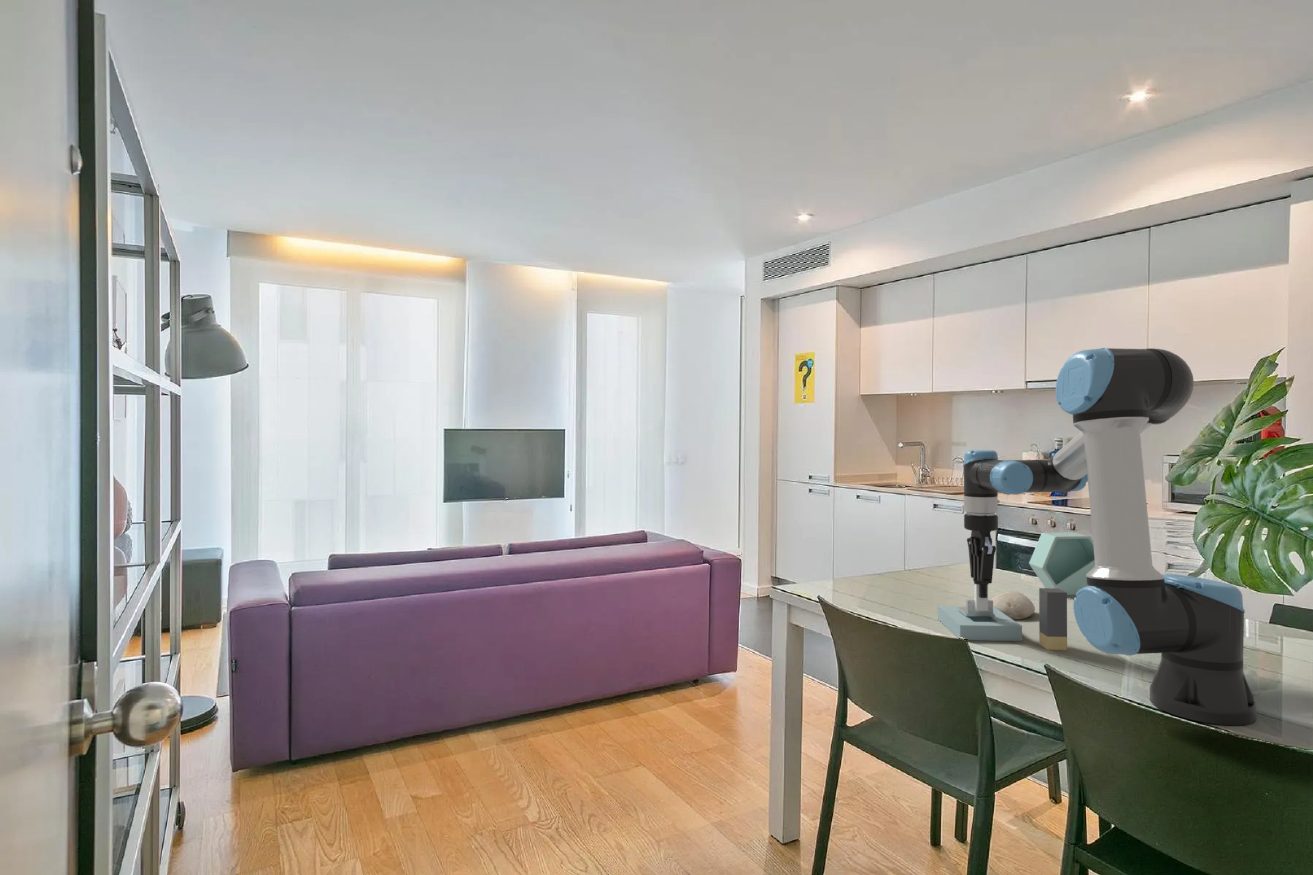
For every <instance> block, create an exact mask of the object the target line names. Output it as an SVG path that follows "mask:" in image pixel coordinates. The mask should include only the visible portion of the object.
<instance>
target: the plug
mask: <svg viewBox="0 0 1313 875" xmlns="http://www.w3.org/2000/svg"><path fill="white" fill-rule="evenodd" d="M1038 592H1039V593H1038V595H1039V596H1038V604H1039V606H1038V607H1039V608H1038V609H1039V610H1038V611H1039V612H1038V613H1039V614H1038V615H1039V616H1038V617H1039V619H1038V620H1039V622H1038V624H1039V627H1038V628H1039V630H1038V631H1039V633H1038V634H1039V635H1038V636H1039V642H1038V643H1039V645H1040V646H1041V647H1042V648H1044V649H1046V650H1047V651H1068V595H1067V592H1065V591H1063V590H1061V589H1059V588H1045V587H1044V588H1043V587H1039V588H1038Z"/></svg>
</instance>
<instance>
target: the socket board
mask: <svg viewBox="0 0 1313 875" xmlns="http://www.w3.org/2000/svg"><path fill="white" fill-rule="evenodd" d="M957 607H966V605H964V606H958V605H957V606H956V605H955V606H954V605H953V606H951V605H949V606H948V605H947V606H945V605H937V621H939V622H940V621H941V622H940V623H941V624H942V623H943V624H942V625H943V626H944V627H945V628H946V629H947V630H948V631H949V632H951V633H952V634H953V635H954V636H955V637H956V638H958V637H963V638H965V639H968V640H967V641H999V642H1000V641H1007V642H1011V641H1013V642H1014V641H1015V642H1022V641H1023V626H1022V625H1021V624H1019V622H1017V621H1016V620H1013V619H1011V618H1009V617H1008V616H1007V615H1005V614H1004V613H1002V612H1001V611H999V610H998V609H996V608H995V607H993V613H994V614H995V617H984V616H965V615H964V614H963V613H961V612H960V611H959V610H958V609H957Z"/></svg>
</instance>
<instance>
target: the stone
mask: <svg viewBox="0 0 1313 875" xmlns="http://www.w3.org/2000/svg"><path fill="white" fill-rule="evenodd" d="M989 600H992V601H993V607H995V608H996V609H998V610H999V611H1001V612H1002V613H1004V614H1005V615H1007V616H1008V617H1009V618H1011V619H1012V620H1014V621H1016V620H1024V619H1027V618H1029V617H1031V616H1032V615H1033V614H1034V613H1035V611H1036V608H1035V605H1034V603H1033V602H1032V600H1031V599H1030V598H1028V596H1027V595H1025V594H1024V593H1022V592H1019V591H1016V590H1015V591H1014V590H1009V591H1007V592H1002V593H999V594H997V595H995V596H993V597H992V598H991V599H989Z"/></svg>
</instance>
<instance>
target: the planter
mask: <svg viewBox="0 0 1313 875" xmlns="http://www.w3.org/2000/svg"><path fill="white" fill-rule="evenodd" d="M1028 564H1029V565H1030V567H1031V569H1032V570H1033V572H1034V573H1035V575H1036V576H1037V577H1038V579H1039V581H1040V582H1041V583H1042V585H1043V587H1044V588H1059V589H1061V590H1063V591H1065V592H1067V596H1076V593H1077V592H1078V591H1079V590H1080V589H1082V588H1084V587H1086V586H1087V578H1086V574H1087V573H1088V572H1089V571H1091V570H1092V569H1093V568H1094V566H1095V557H1094V546H1093V538H1092V537H1091V536H1090V535H1086V534H1083V533H1078V532H1072V531H1071V532H1066V531H1065V532H1041V534H1040V536H1039V538H1038V542H1037V543H1036V545H1035V548H1034V550H1033V553H1032V554H1031V557H1030V559H1029V562H1028Z"/></svg>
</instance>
